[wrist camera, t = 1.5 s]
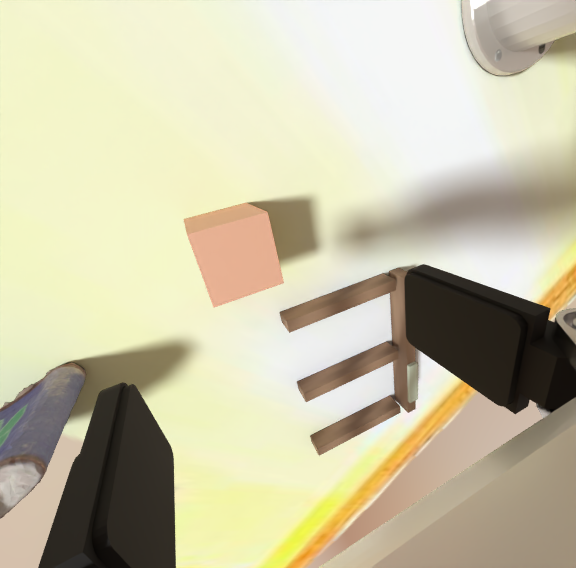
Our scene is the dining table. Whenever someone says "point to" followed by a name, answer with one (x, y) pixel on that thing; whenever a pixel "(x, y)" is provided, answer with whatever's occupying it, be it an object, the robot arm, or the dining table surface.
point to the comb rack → (360, 357)
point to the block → (234, 252)
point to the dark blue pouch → (34, 431)
